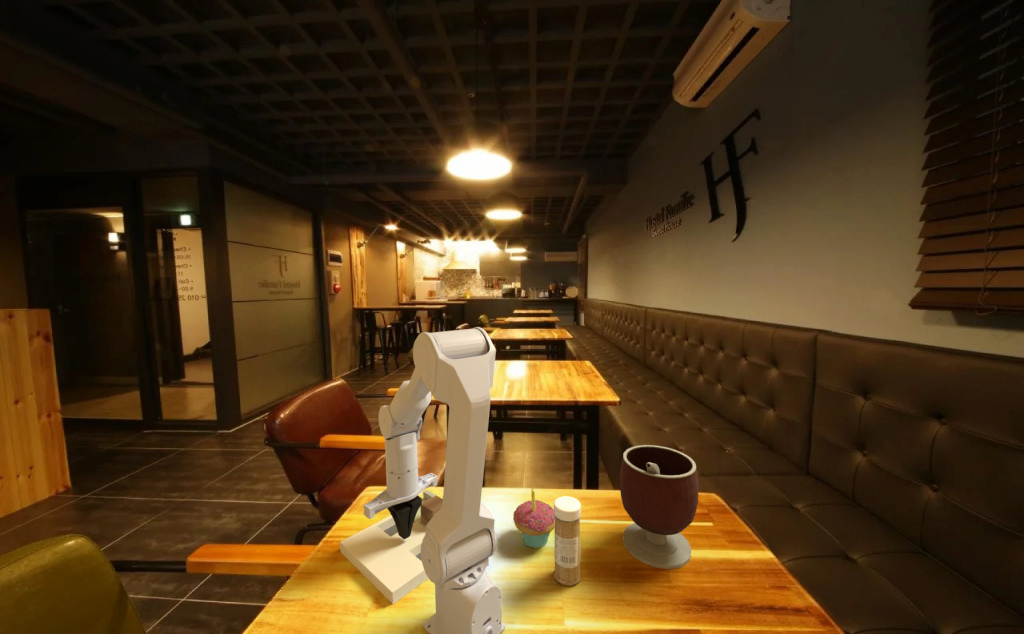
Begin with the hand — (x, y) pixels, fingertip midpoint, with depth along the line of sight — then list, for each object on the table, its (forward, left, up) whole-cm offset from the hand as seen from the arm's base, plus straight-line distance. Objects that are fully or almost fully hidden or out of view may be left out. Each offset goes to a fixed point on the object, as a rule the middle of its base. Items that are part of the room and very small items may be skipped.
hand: (404, 535), depth 71 cm
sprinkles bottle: (-27, -14, -3) cm, 31 cm away
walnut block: (0, -7, -1) cm, 7 cm away
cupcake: (-17, -18, -3) cm, 25 cm away
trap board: (0, -2, -3) cm, 3 cm away
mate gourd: (-36, -31, -3) cm, 48 cm away
